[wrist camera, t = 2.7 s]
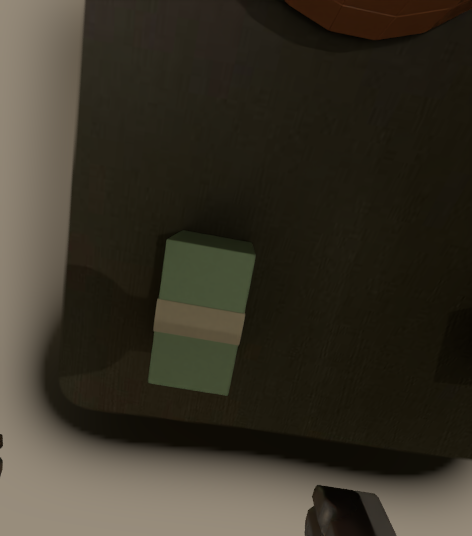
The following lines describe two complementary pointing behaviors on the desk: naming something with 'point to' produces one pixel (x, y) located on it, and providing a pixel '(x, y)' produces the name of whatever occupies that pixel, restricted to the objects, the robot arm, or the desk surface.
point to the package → (200, 311)
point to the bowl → (380, 15)
